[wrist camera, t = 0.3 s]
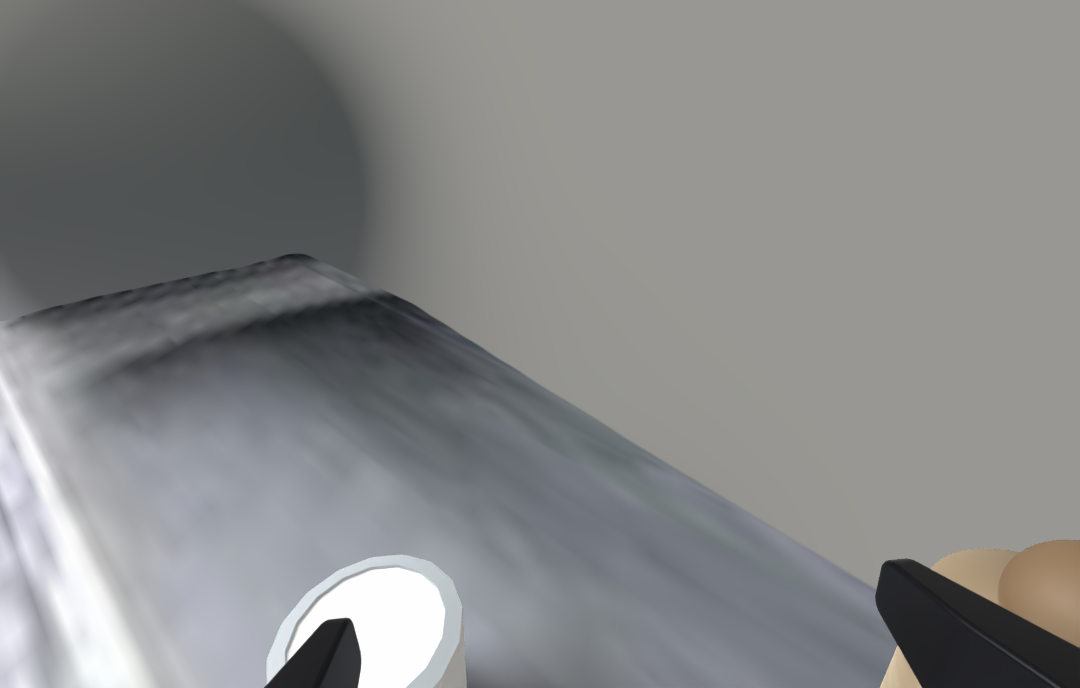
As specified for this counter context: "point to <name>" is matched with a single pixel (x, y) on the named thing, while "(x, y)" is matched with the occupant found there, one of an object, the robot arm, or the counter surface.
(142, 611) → the counter surface
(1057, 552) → the pepper mill
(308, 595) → the white cup
